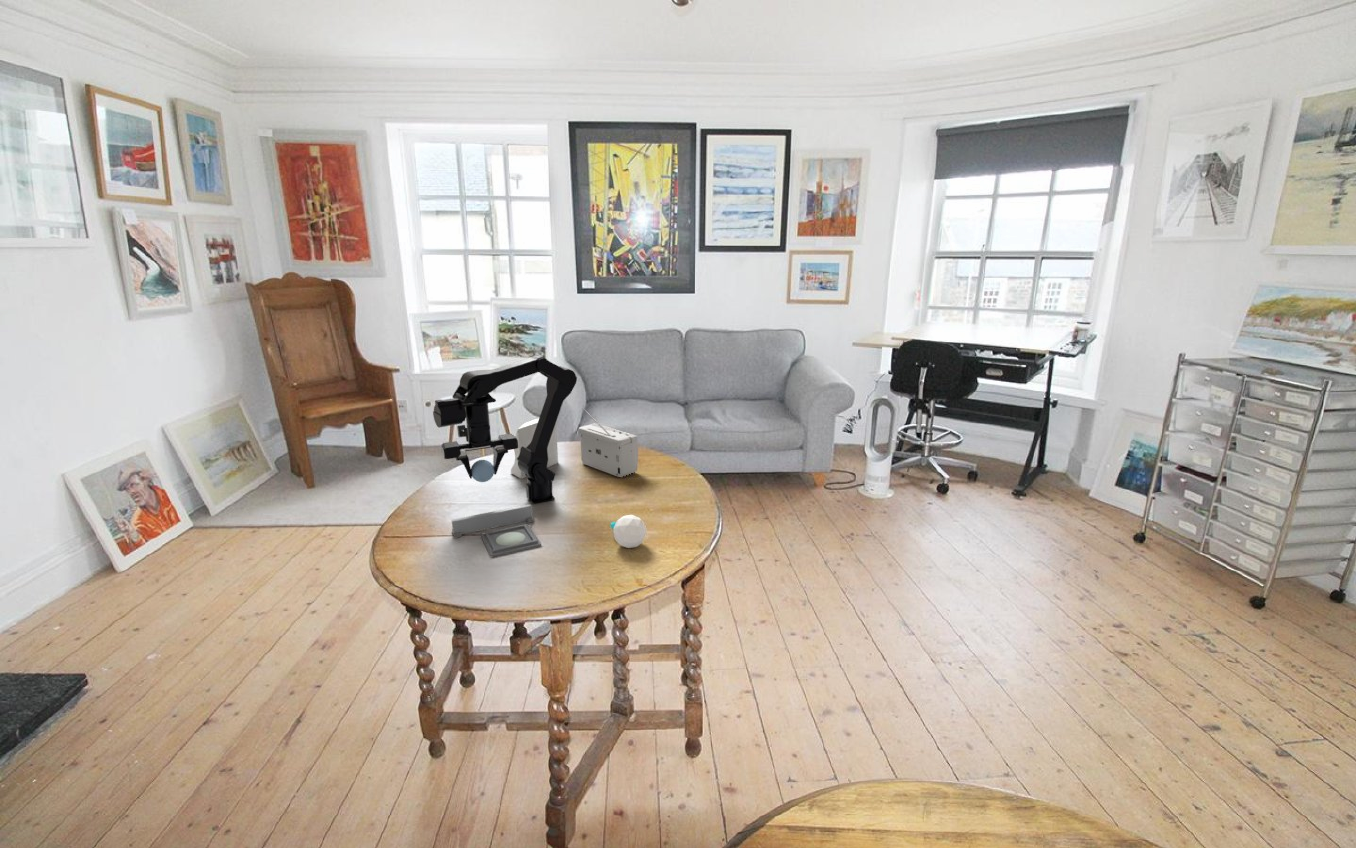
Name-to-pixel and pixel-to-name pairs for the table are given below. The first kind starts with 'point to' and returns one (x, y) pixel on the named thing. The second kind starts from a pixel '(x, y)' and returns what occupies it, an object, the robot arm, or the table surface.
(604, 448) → the stereo radio cassette player
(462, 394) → the robot arm
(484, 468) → the ball
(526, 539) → the gray square tray
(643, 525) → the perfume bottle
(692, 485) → the table surface
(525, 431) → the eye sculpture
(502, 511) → the long gray bar
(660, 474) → the table surface
